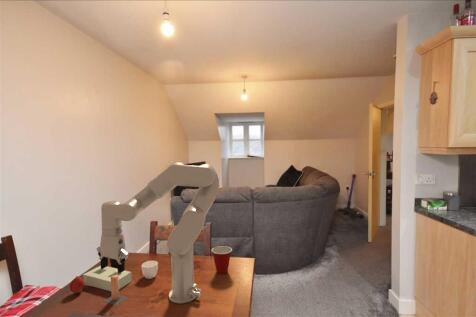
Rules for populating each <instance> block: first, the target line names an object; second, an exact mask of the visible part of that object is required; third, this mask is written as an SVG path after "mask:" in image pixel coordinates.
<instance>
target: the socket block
mask: <svg viewBox="0 0 476 317" xmlns="http://www.w3.org/2000/svg"><path fill="white" fill-rule="evenodd" d="M82 275H83V280H84V282H85V286H88V287H95V288H97V289H100V290H105V291H109V292H111V276H113V275H118V278H119V290H121V289H122V288H124V287H125V286H127V285H128V284H129V283H131V282H132V271H128V270H126V269H125V270H124V271H123V272H121V273H120V274H118V269H116V268H112V267H111V266H109V265H108V266H107V267H105V268H103V269H101V265H99V266H97V267H95V268H93V269H91V270H89V271H87V272H86V273H84V274H82Z"/></svg>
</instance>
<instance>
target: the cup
mask: <svg viewBox="0 0 476 317" xmlns="http://www.w3.org/2000/svg"><path fill="white" fill-rule="evenodd" d="M158 269H159V262H158V261H156V260H147V261H145V262H143V263H142V264H141V271H142V272H141V273H142V275H143V276H144V278H145V279H153V278H155V276H156V275H157V273H158V271H159V270H158Z"/></svg>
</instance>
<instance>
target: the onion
mask: <svg viewBox="0 0 476 317" xmlns="http://www.w3.org/2000/svg"><path fill="white" fill-rule="evenodd" d="M85 286H86V285H85V282H84V278H81V277H79V275H76V276H75V278H73V279H72V281H70V284H69V291H70V292H72V293H73V294H79V293H80V292H81V291H82V290H84V288H85Z"/></svg>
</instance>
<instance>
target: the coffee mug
mask: <svg viewBox="0 0 476 317" xmlns="http://www.w3.org/2000/svg"><path fill="white" fill-rule="evenodd" d="M119 256H120V255H119ZM119 256H118V257H119ZM119 259H120V260H122V259H121V258H119ZM108 260H109V262H110V263H109V264H110V267H112V268H116V269H118V266H117V265H118V264H119V263H118V262H117V260H116V259H111V258H108Z"/></svg>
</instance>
